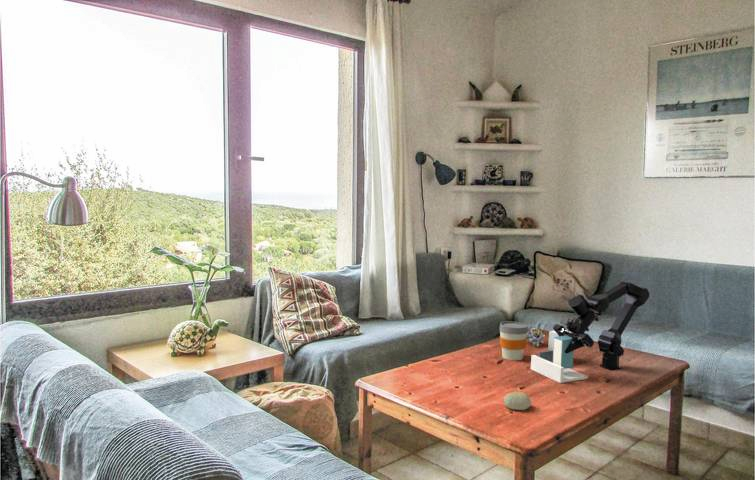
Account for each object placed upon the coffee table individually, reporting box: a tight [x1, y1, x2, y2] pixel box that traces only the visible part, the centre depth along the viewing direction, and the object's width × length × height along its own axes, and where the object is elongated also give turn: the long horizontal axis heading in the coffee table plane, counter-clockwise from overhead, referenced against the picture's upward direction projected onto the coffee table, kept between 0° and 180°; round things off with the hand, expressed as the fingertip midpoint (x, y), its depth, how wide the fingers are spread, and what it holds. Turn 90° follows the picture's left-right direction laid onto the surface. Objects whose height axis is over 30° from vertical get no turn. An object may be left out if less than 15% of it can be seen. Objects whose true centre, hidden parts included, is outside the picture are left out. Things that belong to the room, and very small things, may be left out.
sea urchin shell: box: [503, 391, 532, 411], centre depth 200 cm, size 9×8×8 cm
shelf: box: [530, 350, 589, 384], centre depth 235 cm, size 14×18×8 cm
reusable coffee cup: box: [499, 321, 529, 361], centre depth 257 cm, size 13×13×15 cm
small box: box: [547, 329, 572, 351], centre depth 253 cm, size 8×6×13 cm
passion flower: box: [526, 323, 546, 348], centre depth 279 cm, size 11×11×12 cm
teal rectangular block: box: [553, 336, 575, 369], centre depth 233 cm, size 6×5×12 cm
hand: (560, 351), depth 232 cm, fingers closed on teal rectangular block, 5 cm apart
